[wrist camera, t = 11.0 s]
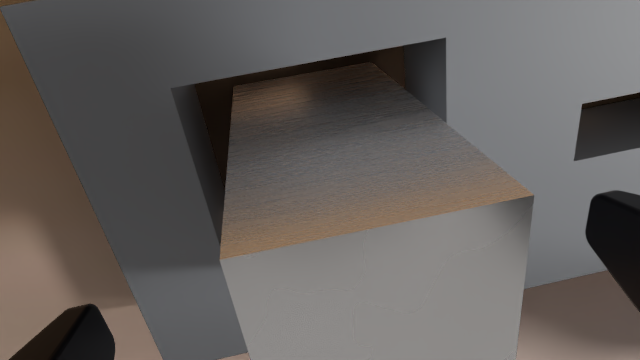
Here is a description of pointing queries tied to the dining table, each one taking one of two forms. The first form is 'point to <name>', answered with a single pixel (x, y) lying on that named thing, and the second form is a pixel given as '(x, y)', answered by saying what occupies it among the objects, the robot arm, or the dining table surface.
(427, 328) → the steel peg
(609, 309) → the dining table surface
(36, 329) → the dining table surface
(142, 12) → the socket plate
